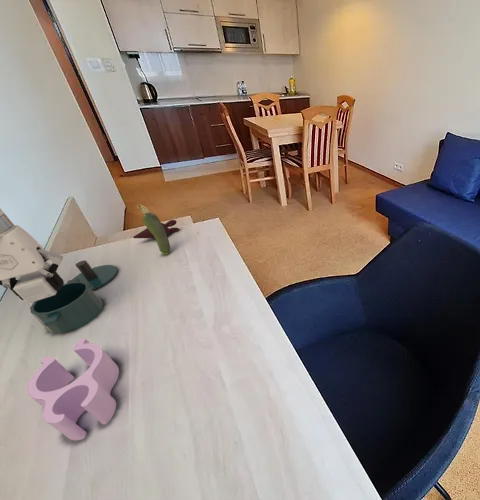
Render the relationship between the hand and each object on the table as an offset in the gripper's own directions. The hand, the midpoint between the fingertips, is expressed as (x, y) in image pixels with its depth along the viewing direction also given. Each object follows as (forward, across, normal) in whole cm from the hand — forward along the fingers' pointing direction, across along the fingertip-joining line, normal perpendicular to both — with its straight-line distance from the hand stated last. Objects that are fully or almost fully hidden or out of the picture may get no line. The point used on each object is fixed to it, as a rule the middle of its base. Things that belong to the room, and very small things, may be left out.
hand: (43, 291), depth 73 cm
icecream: (+13, +17, +40) cm, 45 cm away
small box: (+1, 0, 0) cm, 1 cm away
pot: (+13, -1, +4) cm, 14 cm away
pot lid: (+12, -1, +21) cm, 25 cm away
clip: (+13, +9, -25) cm, 30 cm away
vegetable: (+13, +21, +26) cm, 36 cm away
